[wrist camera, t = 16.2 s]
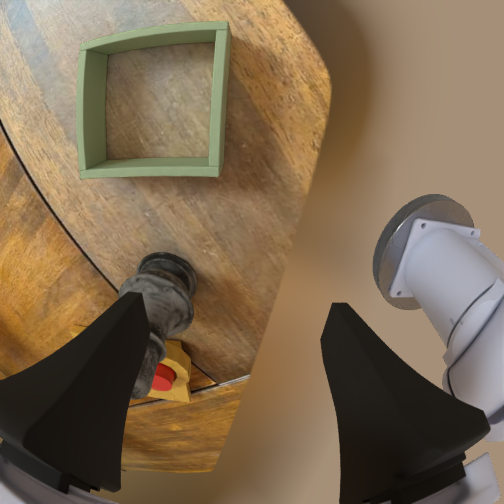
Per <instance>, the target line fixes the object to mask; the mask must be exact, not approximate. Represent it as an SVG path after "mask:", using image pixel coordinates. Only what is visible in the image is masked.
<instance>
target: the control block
mask: <svg viewBox="0 0 504 504" xmlns="http://www.w3.org/2000/svg"><path fill="white" fill-rule="evenodd" d="M85 328H87V327H84V326H79V325H74V326H73V328H72V329H71V331H70V332H71V334H72V336H73V338H75V337H76V336H77V335H78V334H79V333H81V332H82V331H83V330H84V329H85ZM165 346H166V350H167V354H166V358H165V359H164V360H163V361H162V362H160V363H162V364H165V365H167V366H169V367H171V368H172V369H173V370H174V371H175V376H174V381H173V385H172V389H171V390H169V391H157V390H154V389H151V390H150V392H149V394H148V395H147V396H149V397H155V398H161V399H168V400H175V401H182V402H190V401H191V392H190V387H189V380H190V374H191V368H192V366H191V360H190V357H189V356H188V355H187V354H186V353H185V352H184V351H183V350H182V346H181V341H174V340H166V341H165Z"/></svg>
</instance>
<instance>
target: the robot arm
mask: <svg viewBox="0 0 504 504" xmlns="http://www.w3.org/2000/svg"><path fill="white" fill-rule="evenodd" d="M423 223H424V225H423V226H422V227H421V225H422V224H423ZM480 233H481V231H480V230H479V229H478V228H473V227H468V226H463V225H457V224H451V223H446V222H440V221H434V220H427V219H421V218H417V219H415V220H414V222H413V225H412V228H411V231H410V235H409V238H408V241H407V244H406V247H405V250H404V253H403V256H402V259H401V262H400V265H399V267H398V270H397V273H396V276H395V278H394V281H393V283H392V286H391V288H390V291H389V295H390V296H391V297H415V299H416V300H417V302H418V303H419V305H420V306H421V308H422V309H423V311H424V312H425V313H426V315H427V317H428V318H429V320H430V321H431V323H432V324H433V326H434V328H435V329H436V331H437V332H438V334H439V336H440V337H441V339H442V341H443V342H444V344H445V346H446V347H447V351H446V353H445V354H444V356H443V359H444V361H445V363H446V365H447V369H446V370H445V372H444V374H443V380H442V385H443V390H442V389H440V388H438V387H437V386H435V385H434V384H433V383H431V382H430V381H428V380H427V379H425V378H424V377H423V376H421V375H420V374H419V373H417V372H416V371H415V370H413V368H411V367H410V366H409V365H408V364H406V363H405V362H404V361H403V360H402V359H401V358H399V356H398V355H396V354H395V353H394V352H393V351H392V350H391V349H390V348H389V347H388V346H387V345H386V344H385V343H384V342H383V341H382V340H381V339H380V338H379V337H378V336H377V335H376V334H375V332H373V330H372V329H371V328H370V327H369V326H368V325H367V324H366V323H365V322H364V321H363V319H362V318H361V317H360V316H359V315H358V314H357V313H356V312H355V311H354V310H353V309H352V308H351V307H350V306H349V304H347V303H332V305H331V308H330V311H329V315H328V318H327V321H326V324H325V327H324V330H323V333H322V336H321V339H320V340H321V349H322V356H323V363H324V367H325V371H326V374H327V378H328V382H329V386H330V390H331V394H332V398H333V402H334V406H335V411H336V416H337V423H338V432H339V443H340V466H341V479H340V498H339V503H340V504H493V503H494V502H495V501H497V500H498V499H499V498H500V497H501V493H500V489H499V485H498V482H497V478H496V475H495V471H494V468H493V465H492V462H491V459H490V456H489V453H488V452H486V453H484V454H483V455H482V456H480V457H478V458H477V459H475V460H473V461H472V462H470V463H468V464H467V465H465V466H463V463H462V461H464V460H465V459H466V455H465V453H464V452H465V451H466V450H467V449H469V448H470V447H472V446H473V445H474V444H476V443H477V442H479V441H480V440H481V439H482V438H484V439H485V440H486V441H487V442H497V441H504V262H503V261H502V260H501V259H500V258H499V257H498V256H496V255H495V254H494V253H493V252H492V251H491V250H490V249H489V248H487V247H486V246H485V245H484V244H483V243H481V242H480V241H479V237H480ZM150 332H151V329H150V325H149V321H148V317H147V313H146V308H145V304H144V299H143V294H142V293H140V292H130V291H128V292H127V293H125V294H124V295H123V296H122V297H121V298H120V299H118V300H117V301H116V302H115V303H114V304H113V305H112V306H111V307H109V308H108V309H107V310H106V311H105V312H104V313H103V314H102V315H101V316H99V317H98V318H97V319H96V320H95V321H94V322H93V323H92V324H90V325H89V326H88V327H87V328H85V329H84V330H83V331H82V332H81V333H79V334H78V335H77V336H76V337H75V338H73V339H72V340H71V341H70V342H68V343H67V344H66V345H64V346H63V347H61V348H60V349H58V350H57V351H56V352H54V353H53V354H51V355H50V356H48V357H46V358H45V359H43V360H41V361H39V362H38V363H36V364H34V365H33V366H31V367H29V368H27V369H25V370H23V371H21V372H19V373H17V374H15V375H13V376H10V377H8V378H6V379H3V380H0V437H1V438H2V439H3V441H2V444H1V443H0V504H119V503H116V502H113V501H110V500H107V499H104V498H102V497H99V496H96V495H94V494H91V493H90V489H93V490H96V491H100V488H101V489H104V490H107V491H110V492H117V491H119V490H120V489H121V454H122V443H123V435H124V427H125V421H126V416H127V410H128V406H129V402H130V398H131V395H132V392H133V389H134V386H135V383H136V380H137V377H138V374H139V371H140V369H141V366H142V363H143V360H144V357H145V354H146V350H147V346H148V342H149V337H150Z"/></svg>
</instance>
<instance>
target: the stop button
mask: <svg viewBox="0 0 504 504" xmlns="http://www.w3.org/2000/svg"><path fill="white" fill-rule="evenodd" d="M174 376H175V371H174V370H173V369H172V368H171V367H169V366H167V365H165V364H162V363H158V365H157V368H156V372H155V376H154V379H153V383H152V387H151V389H154V390H157V391H169V390H171V389H172V385H173V381H174Z"/></svg>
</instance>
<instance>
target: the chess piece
mask: <svg viewBox="0 0 504 504" xmlns="http://www.w3.org/2000/svg"><path fill="white" fill-rule="evenodd" d="M196 288H197V278H196V275H195V273H194V271H193V269H192V268H191V267H190V265H189V264H188V263H187V262H185V261H184V260H183V259H181V258H180V257H178V256H176V255H173V254H170V253H163V252H158V253H153V254H150V255H148V256H146V257H145V258H144V259H143V260H142V261H141V262H140V263H139V266H138V268H137V274H136V275H134V276H132V277H130V278H128V279H127V280H126V281H125V282H124V283H123V284H122V286H121V288H120V291H119V299H120V298H121V297H122V296H123V295H124V294H125V293H127V292H128V291H130V292H140V293H142V294H143V299H144V304H145V308H146V313H147V317H148V321H149V325H150V329H151V332H150V337H149V342H148V346H147V350H146V354H145V357H144V360H143V363H142V366H141V369H140V371H139V374H138V377H137V380H136V383H135V386H134V389H133V392H132V395H131V398H130V399H133V400H134V399H141V398H144V397H145V396H147V395H148V394H149V392H150V390H151V387H152V383H153V379H154V376H155V372H156V368H157V365H158V363H160V362H162V361H163V360H164V359H165V358H166V354H167V350H166V346H165V341H166V338H167V335H175V334H178V333H181V332H183V331H184V330H186V329H187V328H188V327H189V326H190V324H191V323H192V320H193V316H194V309H193V305H192V302H191V298H192V297H193V295H194V294H195V292H196Z"/></svg>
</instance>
